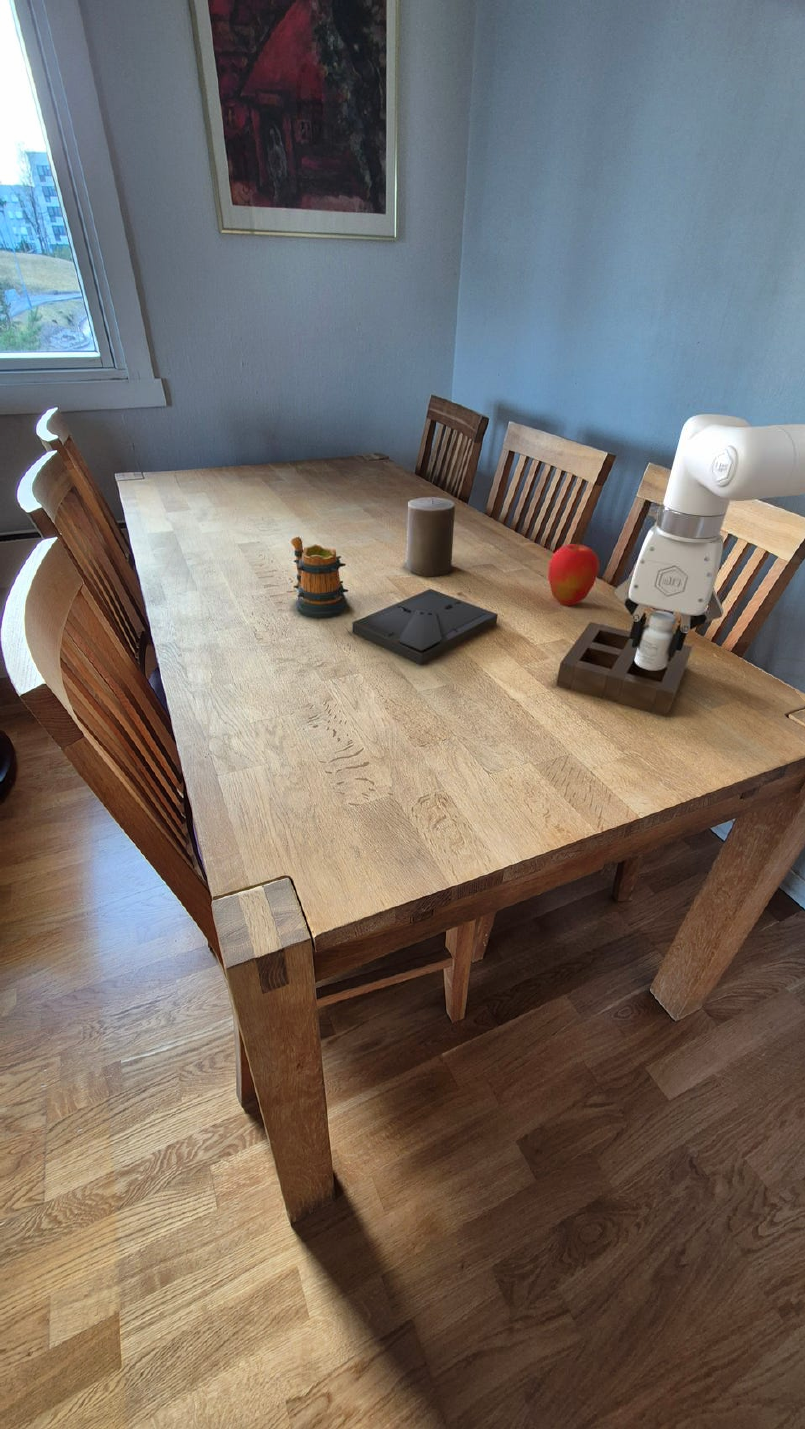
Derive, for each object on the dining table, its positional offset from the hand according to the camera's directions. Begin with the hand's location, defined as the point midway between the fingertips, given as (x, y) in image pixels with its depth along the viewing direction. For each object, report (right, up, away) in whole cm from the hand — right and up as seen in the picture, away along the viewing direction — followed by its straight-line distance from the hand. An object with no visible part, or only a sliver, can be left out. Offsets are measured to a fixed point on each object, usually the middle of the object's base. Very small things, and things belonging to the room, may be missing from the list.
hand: (654, 647), depth 90 cm
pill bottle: (0, -2, +2) cm, 3 cm away
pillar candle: (-31, +22, +44) cm, 58 cm away
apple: (-4, +12, +32) cm, 34 cm away
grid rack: (-2, -4, +9) cm, 9 cm away
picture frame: (-32, +5, +20) cm, 38 cm away
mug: (-52, +11, +28) cm, 60 cm away
